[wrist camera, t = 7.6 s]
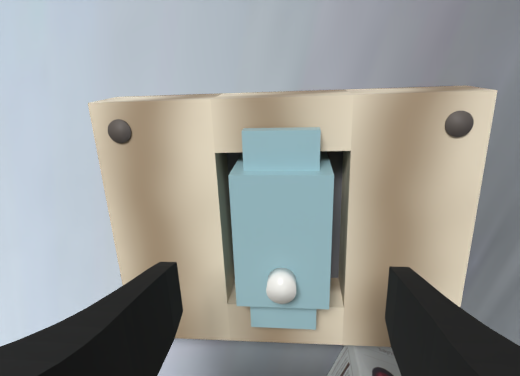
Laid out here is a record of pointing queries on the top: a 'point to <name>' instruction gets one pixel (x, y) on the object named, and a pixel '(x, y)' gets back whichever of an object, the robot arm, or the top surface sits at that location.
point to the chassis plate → (344, 197)
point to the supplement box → (365, 362)
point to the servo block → (282, 226)
